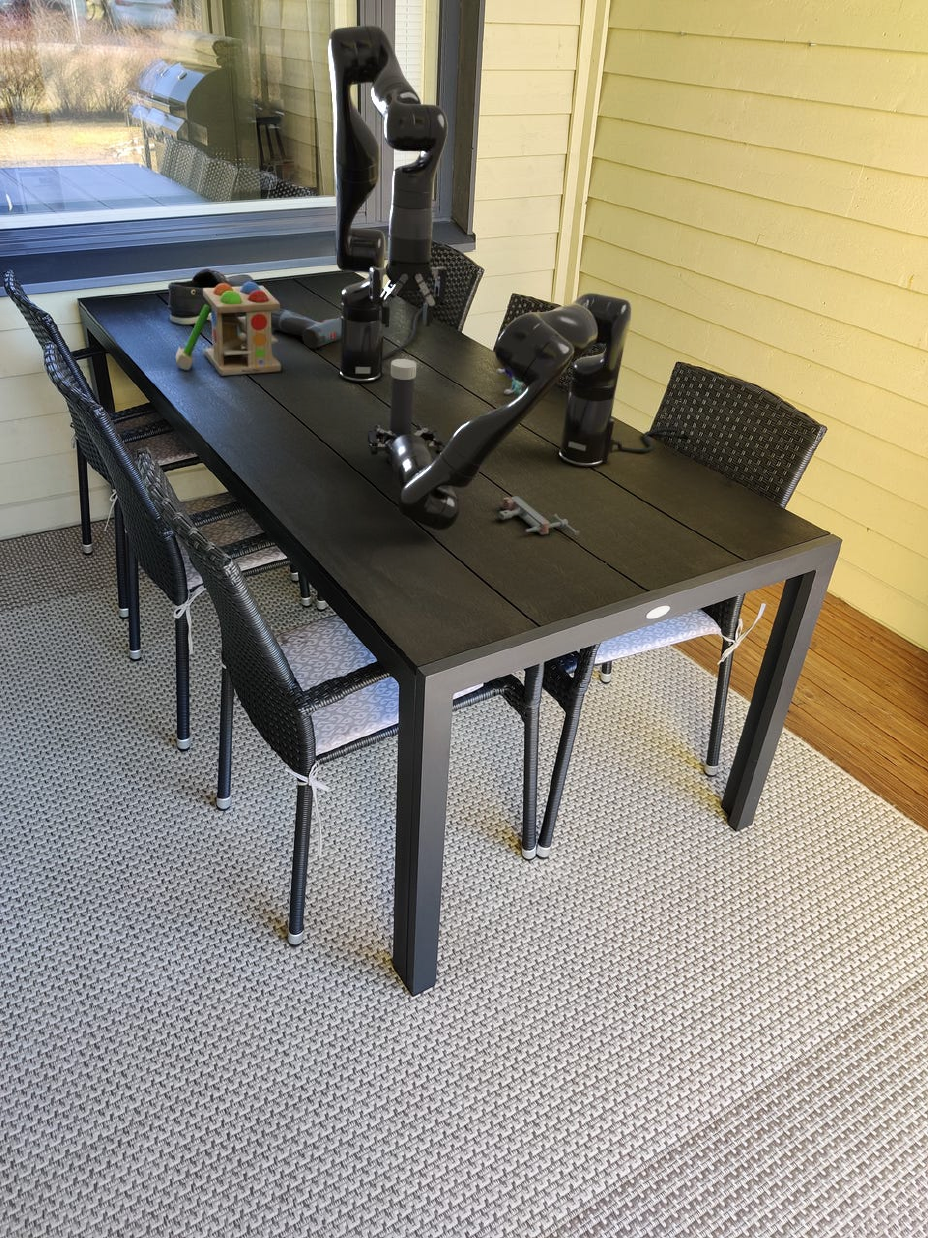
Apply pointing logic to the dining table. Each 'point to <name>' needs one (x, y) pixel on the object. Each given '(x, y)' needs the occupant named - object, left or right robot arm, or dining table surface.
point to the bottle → (401, 406)
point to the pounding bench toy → (229, 347)
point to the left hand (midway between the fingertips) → (405, 325)
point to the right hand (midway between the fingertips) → (398, 426)
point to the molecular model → (515, 384)
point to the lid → (403, 369)
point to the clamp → (530, 516)
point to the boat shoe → (197, 294)
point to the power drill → (307, 327)
